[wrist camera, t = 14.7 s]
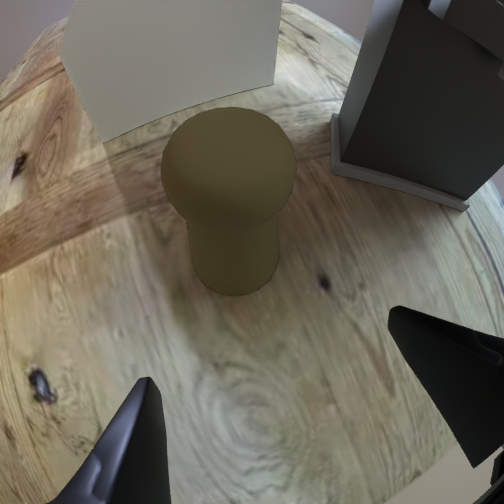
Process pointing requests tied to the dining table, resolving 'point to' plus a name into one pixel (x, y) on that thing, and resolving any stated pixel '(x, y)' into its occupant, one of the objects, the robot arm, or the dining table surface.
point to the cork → (230, 194)
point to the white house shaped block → (165, 56)
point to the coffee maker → (425, 100)
